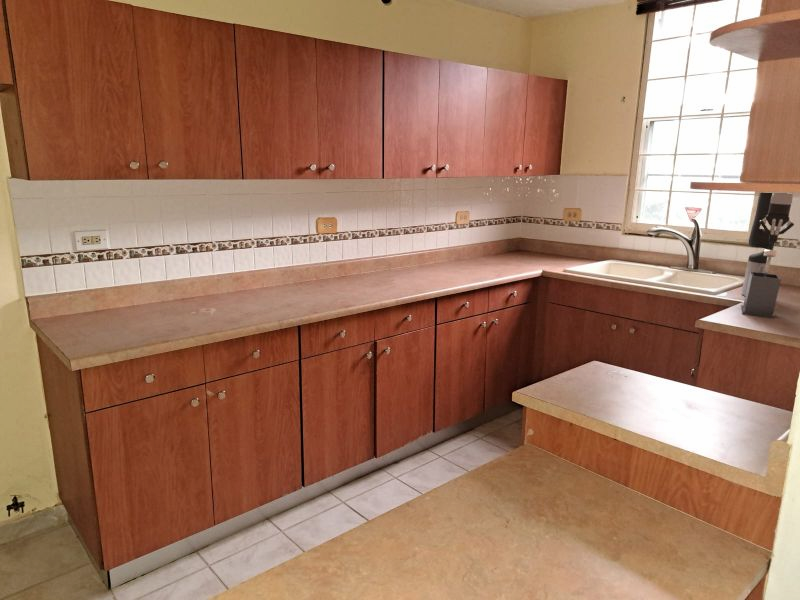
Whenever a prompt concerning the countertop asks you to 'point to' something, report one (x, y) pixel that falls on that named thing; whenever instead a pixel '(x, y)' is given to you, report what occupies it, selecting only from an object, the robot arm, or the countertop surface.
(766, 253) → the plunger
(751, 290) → the dark grey upright box
